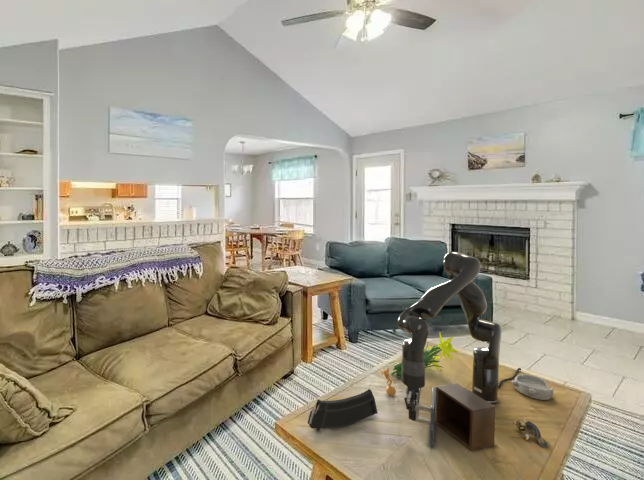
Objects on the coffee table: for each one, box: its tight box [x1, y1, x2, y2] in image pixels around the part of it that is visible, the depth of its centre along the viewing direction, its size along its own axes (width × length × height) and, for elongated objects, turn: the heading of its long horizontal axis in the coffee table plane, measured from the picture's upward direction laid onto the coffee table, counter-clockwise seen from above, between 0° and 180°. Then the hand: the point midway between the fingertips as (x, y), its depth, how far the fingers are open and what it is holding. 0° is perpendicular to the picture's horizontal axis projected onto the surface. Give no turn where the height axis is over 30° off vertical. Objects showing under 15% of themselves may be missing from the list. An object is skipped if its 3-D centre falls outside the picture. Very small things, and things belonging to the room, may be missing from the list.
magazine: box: [307, 388, 379, 432], centre depth 142 cm, size 17×3×30 cm
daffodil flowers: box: [391, 331, 459, 379], centre depth 182 cm, size 17×15×35 cm
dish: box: [510, 373, 554, 401], centre depth 165 cm, size 14×14×5 cm
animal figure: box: [511, 418, 549, 448], centre depth 134 cm, size 8×7×9 cm
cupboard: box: [435, 382, 497, 451], centre depth 136 cm, size 10×16×14 cm, turn 15°
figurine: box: [380, 368, 397, 397], centre depth 161 cm, size 8×6×12 cm
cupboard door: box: [414, 386, 436, 448], centre depth 137 cm, size 6×16×14 cm, turn 150°
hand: (413, 418), depth 134 cm, fingers closed
